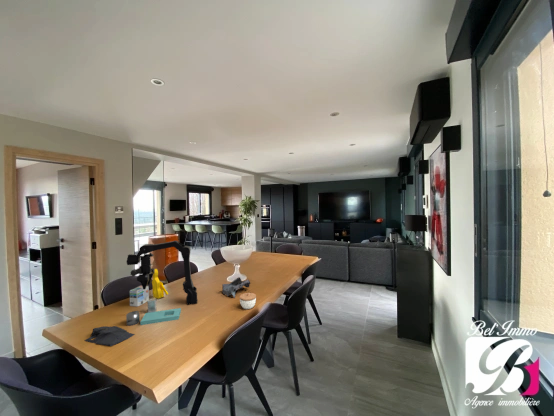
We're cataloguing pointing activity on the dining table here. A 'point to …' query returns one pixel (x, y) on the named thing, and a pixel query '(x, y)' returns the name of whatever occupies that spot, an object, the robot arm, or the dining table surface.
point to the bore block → (161, 316)
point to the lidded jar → (248, 300)
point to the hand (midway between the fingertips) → (146, 286)
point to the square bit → (152, 305)
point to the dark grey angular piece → (234, 286)
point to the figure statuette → (157, 286)
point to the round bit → (132, 318)
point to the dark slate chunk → (108, 335)
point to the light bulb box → (139, 296)
